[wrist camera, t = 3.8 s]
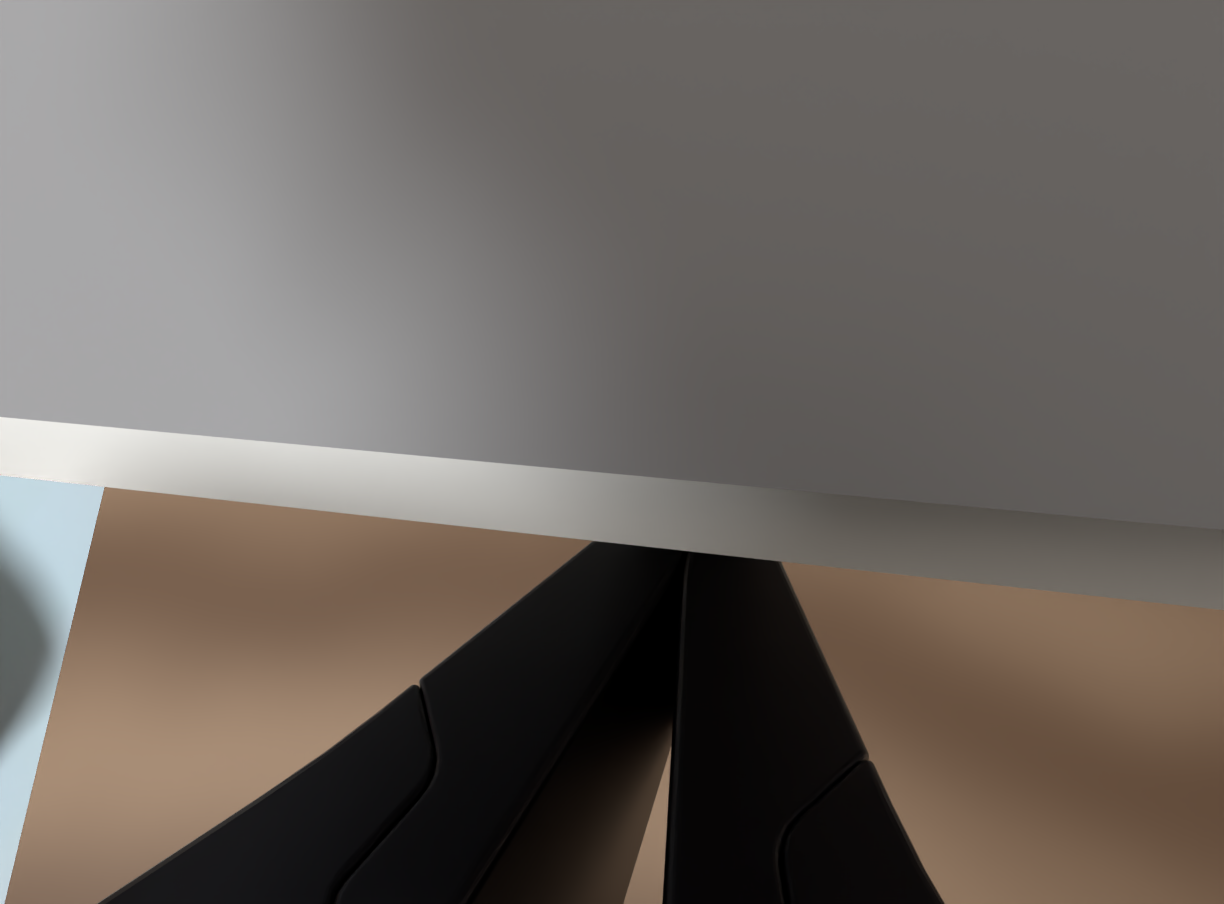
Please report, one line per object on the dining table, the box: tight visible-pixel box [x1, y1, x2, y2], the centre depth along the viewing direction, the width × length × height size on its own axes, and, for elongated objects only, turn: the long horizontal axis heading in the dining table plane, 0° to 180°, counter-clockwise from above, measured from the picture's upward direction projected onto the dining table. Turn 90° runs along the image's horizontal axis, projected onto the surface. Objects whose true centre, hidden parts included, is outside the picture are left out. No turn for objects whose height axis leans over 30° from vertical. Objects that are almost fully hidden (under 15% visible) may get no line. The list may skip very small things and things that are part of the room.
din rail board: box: [5, 487, 1224, 904], centre depth 14 cm, size 18×26×4 cm
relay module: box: [0, 0, 1224, 610], centre depth 9 cm, size 6×7×12 cm
